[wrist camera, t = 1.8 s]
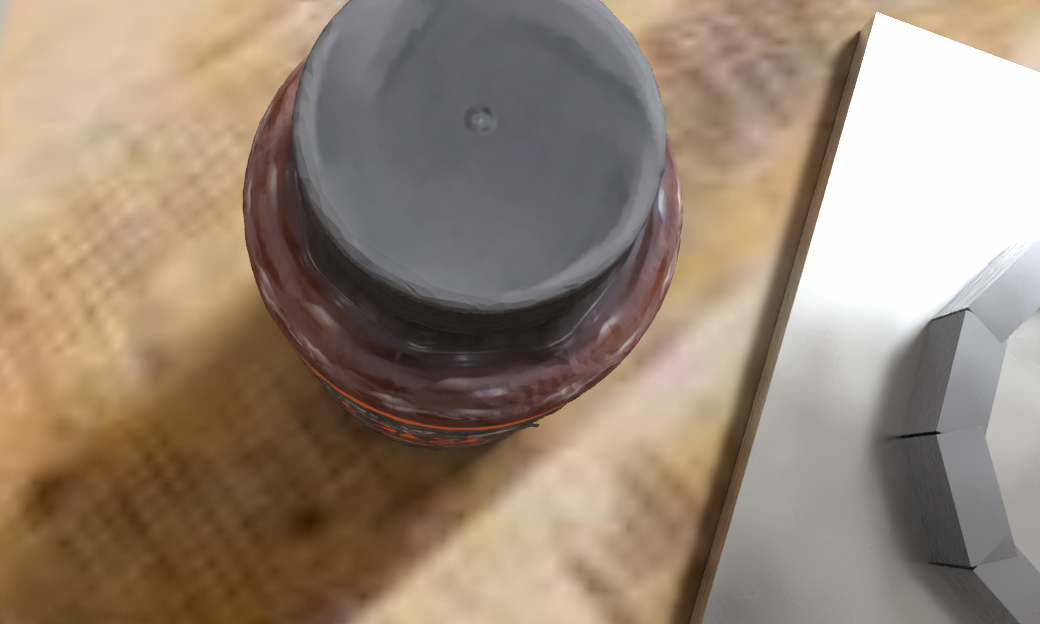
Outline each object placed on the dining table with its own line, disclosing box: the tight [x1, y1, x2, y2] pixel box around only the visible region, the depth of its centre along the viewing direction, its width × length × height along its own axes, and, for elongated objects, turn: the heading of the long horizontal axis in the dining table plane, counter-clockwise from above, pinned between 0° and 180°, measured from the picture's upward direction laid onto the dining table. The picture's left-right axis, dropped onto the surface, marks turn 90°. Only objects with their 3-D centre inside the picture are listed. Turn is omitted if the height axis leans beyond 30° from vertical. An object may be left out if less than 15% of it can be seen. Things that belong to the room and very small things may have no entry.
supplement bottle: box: [243, 0, 683, 450], centre depth 16 cm, size 6×6×11 cm
